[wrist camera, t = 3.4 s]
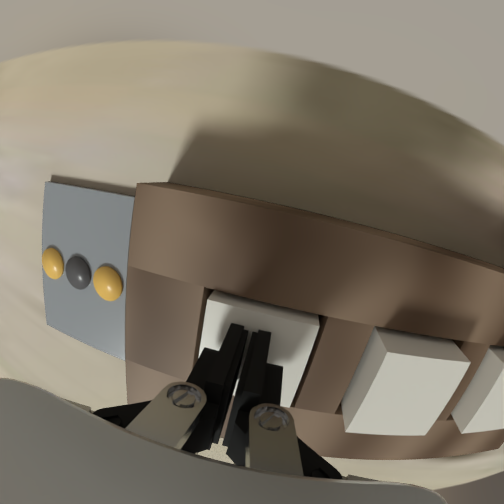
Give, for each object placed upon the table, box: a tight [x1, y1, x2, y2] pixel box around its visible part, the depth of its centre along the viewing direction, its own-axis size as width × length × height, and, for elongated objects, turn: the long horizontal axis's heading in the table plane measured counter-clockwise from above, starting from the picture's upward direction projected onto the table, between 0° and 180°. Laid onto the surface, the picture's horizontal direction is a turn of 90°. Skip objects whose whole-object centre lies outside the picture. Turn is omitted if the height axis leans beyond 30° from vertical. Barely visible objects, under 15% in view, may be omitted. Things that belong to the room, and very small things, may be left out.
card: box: [42, 181, 135, 361], centre depth 16 cm, size 7×10×1 cm
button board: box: [125, 182, 504, 460], centre depth 13 cm, size 26×12×3 cm, turn 79°
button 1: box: [451, 345, 504, 434], centre depth 10 cm, size 4×4×2 cm
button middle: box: [341, 326, 471, 436], centre depth 11 cm, size 4×4×2 cm
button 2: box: [198, 290, 320, 408], centre depth 13 cm, size 4×4×2 cm
